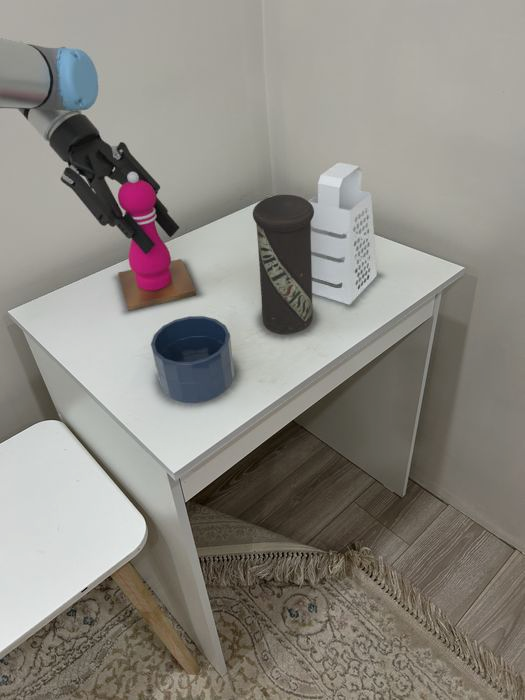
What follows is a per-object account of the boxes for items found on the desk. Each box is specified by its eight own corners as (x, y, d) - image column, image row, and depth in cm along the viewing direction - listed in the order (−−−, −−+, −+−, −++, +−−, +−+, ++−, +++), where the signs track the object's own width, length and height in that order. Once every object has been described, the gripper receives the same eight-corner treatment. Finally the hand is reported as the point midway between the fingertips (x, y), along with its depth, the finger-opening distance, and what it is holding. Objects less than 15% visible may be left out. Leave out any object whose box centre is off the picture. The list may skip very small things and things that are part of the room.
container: (254, 333, 86) (244, 215, 73) (267, 301, 93) (260, 188, 80) (308, 338, 84) (308, 218, 71) (318, 305, 91) (319, 190, 78)
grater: (376, 275, 97) (386, 164, 84) (349, 304, 90) (355, 189, 78) (325, 261, 102) (327, 154, 89) (295, 287, 95) (293, 176, 83)
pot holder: (128, 311, 93) (127, 306, 92) (119, 277, 102) (117, 272, 101) (196, 295, 95) (195, 290, 95) (181, 263, 104) (181, 258, 104)
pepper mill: (161, 267, 102) (140, 160, 89) (182, 281, 97) (163, 171, 85) (126, 281, 98) (100, 172, 86) (147, 297, 94) (122, 185, 81)
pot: (168, 411, 73) (159, 372, 69) (154, 364, 81) (145, 326, 77) (243, 390, 76) (239, 352, 71) (222, 346, 84) (217, 309, 79)
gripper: (99, 126, 96) (186, 228, 99) (13, 162, 84) (116, 277, 87) (114, 96, 91) (206, 206, 94) (25, 131, 78) (134, 255, 82)
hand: (162, 240), depth 91 cm, fingers open, 6 cm apart
